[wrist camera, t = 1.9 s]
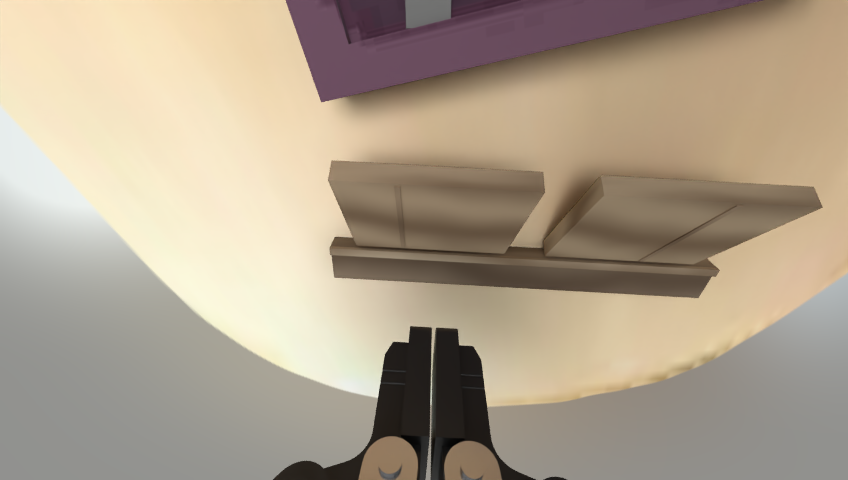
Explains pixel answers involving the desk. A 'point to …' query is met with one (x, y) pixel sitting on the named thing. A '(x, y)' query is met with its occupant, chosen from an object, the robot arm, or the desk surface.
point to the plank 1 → (434, 205)
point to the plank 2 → (673, 218)
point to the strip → (519, 270)
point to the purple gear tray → (457, 34)
